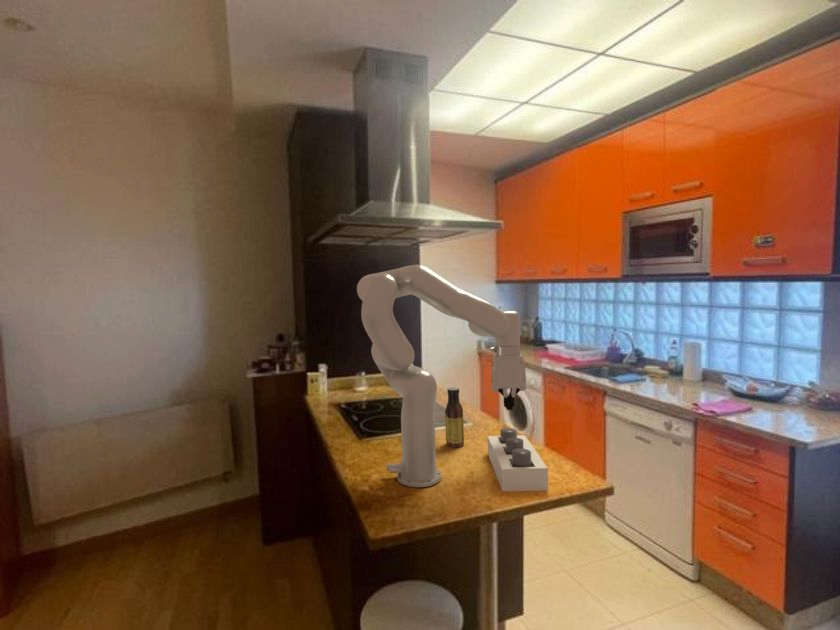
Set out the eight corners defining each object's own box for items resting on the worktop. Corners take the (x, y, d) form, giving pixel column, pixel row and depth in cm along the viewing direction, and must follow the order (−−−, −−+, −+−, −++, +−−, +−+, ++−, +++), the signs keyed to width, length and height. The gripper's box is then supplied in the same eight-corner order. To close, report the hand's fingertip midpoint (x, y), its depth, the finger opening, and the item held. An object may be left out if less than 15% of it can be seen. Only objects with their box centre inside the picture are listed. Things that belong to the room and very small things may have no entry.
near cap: (514, 475, 116) (514, 455, 115) (510, 468, 121) (510, 448, 120) (533, 475, 116) (532, 455, 115) (528, 467, 121) (528, 448, 120)
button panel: (502, 491, 114) (502, 469, 114) (487, 454, 140) (487, 436, 140) (548, 490, 114) (547, 468, 114) (525, 453, 140) (524, 435, 140)
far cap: (502, 450, 134) (502, 433, 133) (499, 445, 139) (499, 428, 138) (518, 450, 134) (518, 433, 133) (515, 444, 139) (514, 427, 138)
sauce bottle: (453, 440, 154) (451, 385, 153) (467, 444, 150) (466, 387, 149) (442, 446, 149) (440, 388, 148) (457, 449, 145) (455, 391, 144)
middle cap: (507, 462, 125) (507, 443, 124) (504, 455, 130) (504, 437, 129) (525, 462, 125) (525, 443, 124) (521, 455, 130) (521, 437, 129)
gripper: (485, 353, 131) (486, 413, 132) (535, 351, 131) (536, 411, 132) (482, 349, 138) (483, 406, 139) (529, 348, 138) (530, 405, 139)
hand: (509, 408), depth 136 cm, fingers closed
